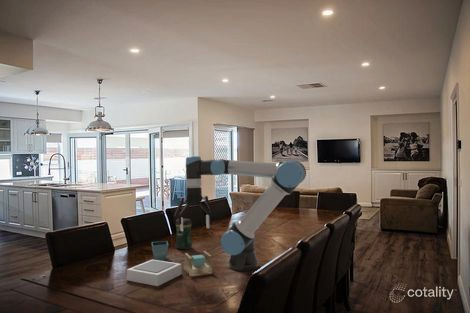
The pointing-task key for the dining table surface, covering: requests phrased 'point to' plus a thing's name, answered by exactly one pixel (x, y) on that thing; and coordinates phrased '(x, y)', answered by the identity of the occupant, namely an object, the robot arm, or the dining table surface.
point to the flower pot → (160, 250)
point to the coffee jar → (184, 235)
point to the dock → (154, 272)
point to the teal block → (198, 260)
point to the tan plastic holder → (199, 269)
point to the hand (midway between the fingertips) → (195, 229)
